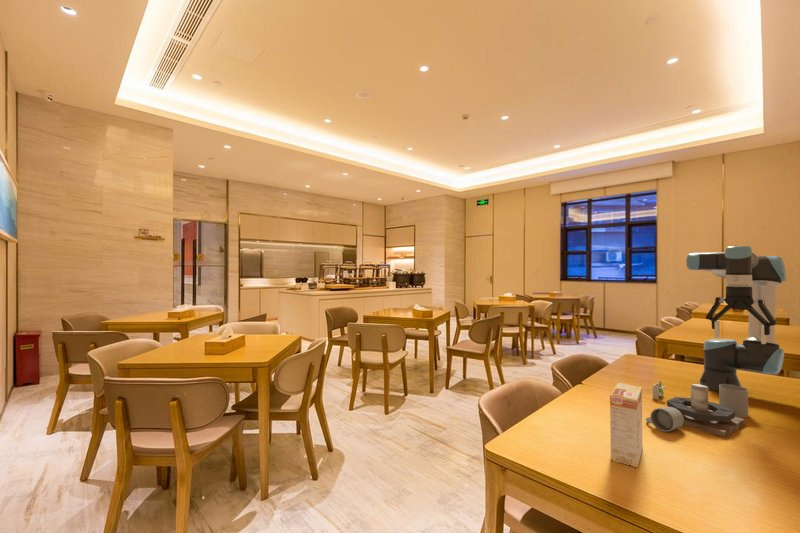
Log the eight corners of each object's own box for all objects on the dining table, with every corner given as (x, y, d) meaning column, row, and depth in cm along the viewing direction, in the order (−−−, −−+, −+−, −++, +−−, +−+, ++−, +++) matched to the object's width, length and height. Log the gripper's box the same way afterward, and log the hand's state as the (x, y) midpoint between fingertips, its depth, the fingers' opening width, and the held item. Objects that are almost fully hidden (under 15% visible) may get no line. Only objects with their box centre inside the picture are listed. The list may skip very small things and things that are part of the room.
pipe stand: (679, 406, 148) (679, 375, 148) (744, 424, 131) (744, 388, 131) (656, 417, 138) (656, 383, 138) (724, 438, 121) (724, 399, 121)
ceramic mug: (686, 430, 127) (685, 408, 127) (674, 435, 123) (673, 412, 123) (652, 419, 136) (652, 399, 136) (641, 424, 132) (640, 403, 132)
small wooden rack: (668, 398, 159) (668, 380, 160) (663, 401, 155) (663, 383, 155) (658, 395, 163) (658, 378, 163) (652, 399, 158) (652, 380, 159)
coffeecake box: (617, 441, 118) (617, 382, 118) (643, 448, 114) (643, 386, 114) (609, 460, 107) (608, 394, 107) (637, 468, 102) (637, 399, 102)
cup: (753, 418, 137) (753, 391, 137) (728, 416, 139) (728, 390, 139) (737, 409, 145) (737, 384, 146) (714, 408, 147) (714, 383, 147)
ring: (681, 399, 147) (681, 394, 147) (740, 414, 132) (740, 408, 132) (660, 408, 137) (660, 403, 137) (721, 425, 122) (721, 419, 122)
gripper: (695, 285, 148) (696, 336, 148) (781, 287, 127) (782, 347, 127) (703, 284, 152) (703, 334, 152) (787, 286, 131) (788, 344, 131)
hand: (739, 340), depth 140 cm, fingers open, 13 cm apart
